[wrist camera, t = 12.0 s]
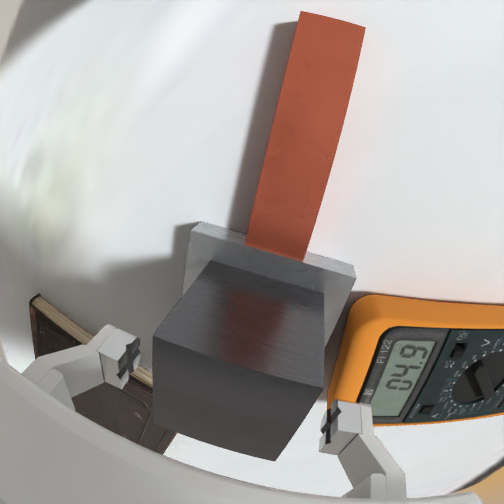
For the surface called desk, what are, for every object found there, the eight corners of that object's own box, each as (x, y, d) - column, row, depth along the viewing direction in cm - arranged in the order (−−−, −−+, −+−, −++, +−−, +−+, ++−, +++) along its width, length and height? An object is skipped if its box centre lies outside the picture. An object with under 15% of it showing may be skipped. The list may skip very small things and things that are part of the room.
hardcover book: (201, 390, 21) (191, 412, 19) (151, 468, 31) (145, 480, 29) (42, 289, 21) (25, 302, 19) (53, 407, 31) (45, 417, 29)
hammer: (247, 11, 11) (219, -31, 7) (413, 54, 10) (452, 27, 6) (184, 338, 19) (154, 387, 14) (304, 374, 18) (298, 432, 14)
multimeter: (516, 385, 16) (530, 412, 13) (324, 391, 19) (322, 430, 16) (562, 299, 12) (584, 323, 9) (349, 283, 15) (356, 320, 12)
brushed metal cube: (210, 259, 14) (152, 335, 9) (323, 293, 14) (323, 387, 9) (196, 344, 17) (153, 423, 11) (289, 372, 16) (274, 461, 11)
